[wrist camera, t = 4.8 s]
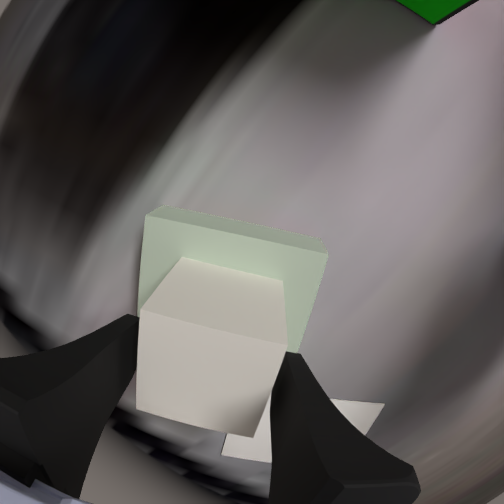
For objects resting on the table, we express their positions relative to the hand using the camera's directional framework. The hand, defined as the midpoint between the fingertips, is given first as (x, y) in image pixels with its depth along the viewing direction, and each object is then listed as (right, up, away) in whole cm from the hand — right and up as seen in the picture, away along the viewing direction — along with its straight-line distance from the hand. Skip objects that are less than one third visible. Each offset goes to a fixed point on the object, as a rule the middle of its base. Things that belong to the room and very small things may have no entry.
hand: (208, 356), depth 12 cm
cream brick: (0, +1, +3) cm, 3 cm away
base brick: (0, +2, +6) cm, 6 cm away
